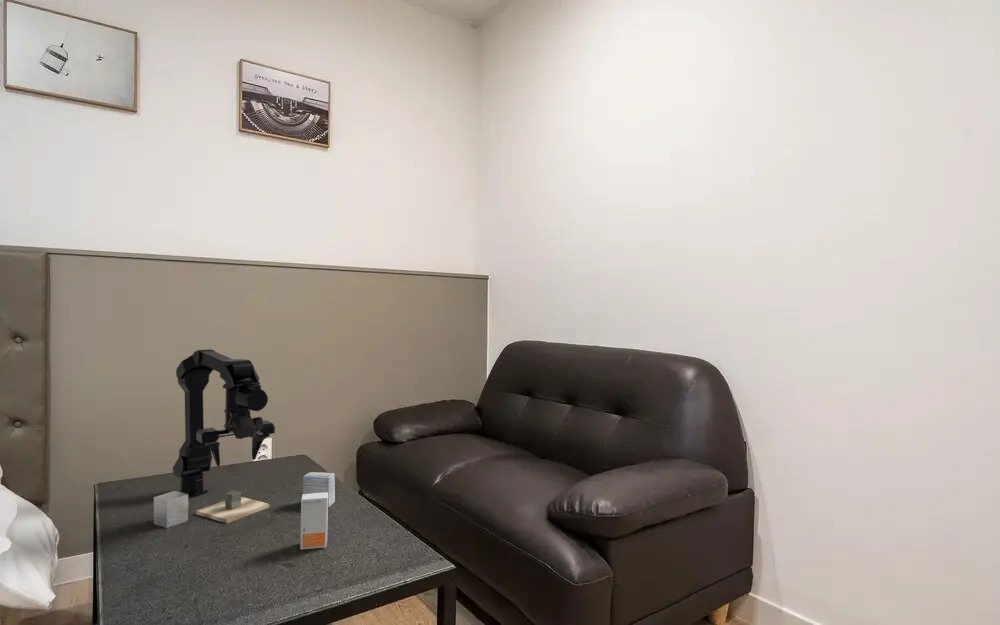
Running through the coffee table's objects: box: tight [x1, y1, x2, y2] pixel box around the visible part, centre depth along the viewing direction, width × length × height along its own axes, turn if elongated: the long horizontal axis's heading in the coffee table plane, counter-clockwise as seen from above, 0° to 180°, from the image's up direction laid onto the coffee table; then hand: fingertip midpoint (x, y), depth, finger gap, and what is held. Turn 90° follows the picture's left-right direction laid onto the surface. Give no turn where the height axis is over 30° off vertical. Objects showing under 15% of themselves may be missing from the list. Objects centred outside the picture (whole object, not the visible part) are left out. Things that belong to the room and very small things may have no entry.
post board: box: [195, 490, 270, 524], centre depth 150 cm, size 13×13×5 cm
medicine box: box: [302, 471, 336, 508], centre depth 156 cm, size 8×4×9 cm, turn 84°
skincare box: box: [299, 492, 329, 551], centre depth 129 cm, size 6×4×12 cm
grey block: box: [153, 490, 189, 529], centre depth 142 cm, size 6×6×7 cm
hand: (236, 462), depth 148 cm, fingers open, 9 cm apart
